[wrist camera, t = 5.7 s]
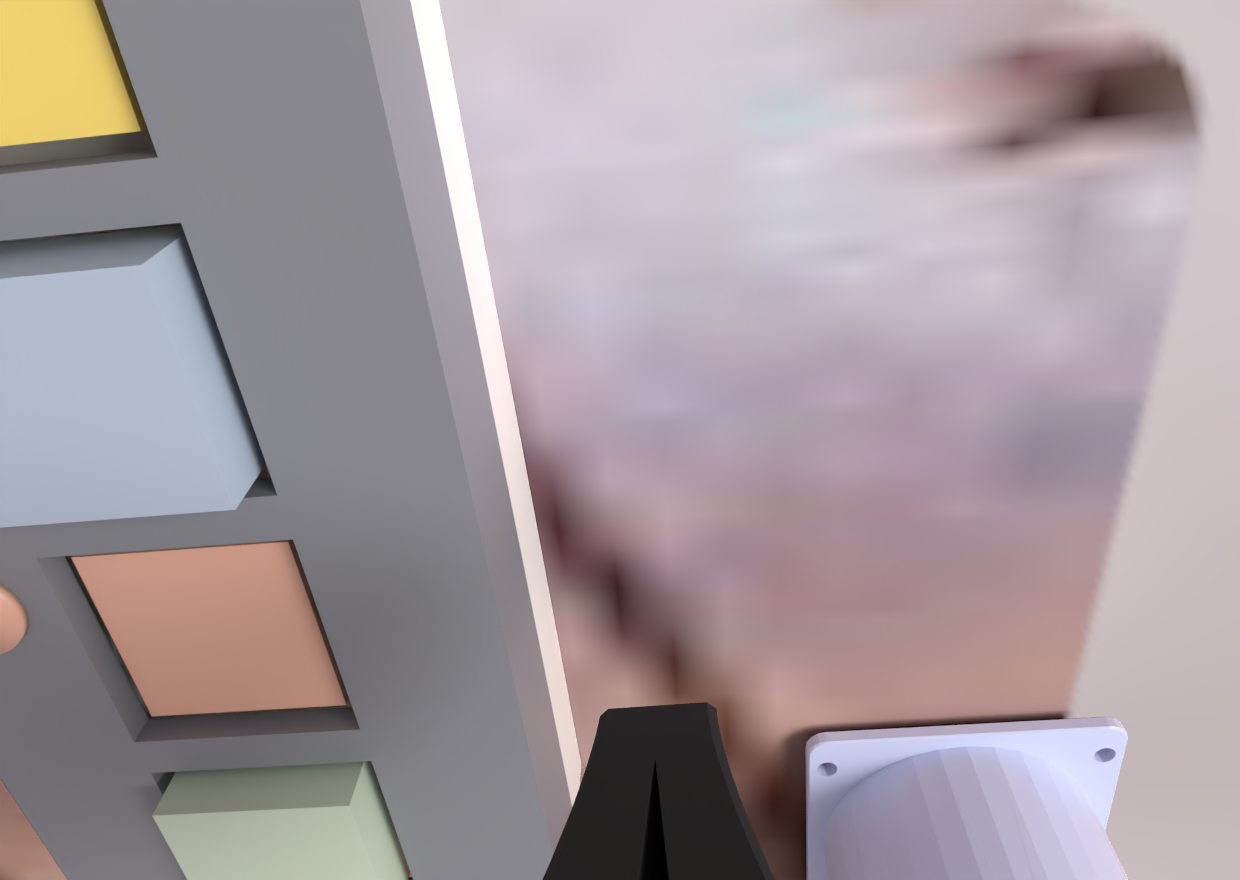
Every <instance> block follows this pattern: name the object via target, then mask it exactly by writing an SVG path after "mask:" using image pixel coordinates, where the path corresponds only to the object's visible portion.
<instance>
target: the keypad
mask: <svg viewBox="0 0 1240 880" xmlns="http://www.w3.org/2000/svg"><path fill="white" fill-rule="evenodd" d="M102 1H103V4H104V7H105V9H106V12H107V15H108V18H109V21H110V23H111V26H112V29H113V32H114V35H115V38H116V40H117V43H118V46H119V49H120V52H121V55H122V57H123V60H124V63H125V66H126V69H127V72H128V74H129V77H130V80H131V83H132V86H133V89H134V91H135V94H136V97H137V100H138V103H139V106H140V108H141V111H142V114H143V117H144V120H145V122H146V125H147V129H144V130H142V131H138V132H129V133H120V134H110V135H101V136H92V137H83V138H74V139H64V140H55V141H46V142H37V143H28V144H19V145H9V146H0V244H2V243H12V242H22V241H32V240H42V239H52V238H62V237H72V236H82V235H92V234H102V233H112V232H122V231H131V230H141V229H151V228H161V227H171V226H181V225H182V227H183V230H184V233H185V236H186V238H187V241H188V244H189V247H190V250H191V253H192V255H193V258H194V261H195V264H196V267H197V270H198V272H199V275H200V278H201V281H202V284H203V287H204V289H205V292H206V295H207V298H208V301H209V304H210V306H211V309H212V312H213V315H214V318H215V320H216V323H217V326H218V329H219V332H220V335H221V337H222V340H223V343H224V346H225V349H226V352H227V354H228V357H229V360H230V363H231V366H232V369H233V371H234V374H235V377H236V380H237V383H238V386H239V388H240V391H241V394H242V397H243V400H244V403H245V405H246V408H247V411H248V414H249V417H250V419H251V422H252V425H253V428H254V431H255V434H256V436H257V439H258V442H259V445H260V448H261V451H262V453H263V456H264V459H265V462H266V465H265V466H264V468H263V469H262V471H261V472H260V474H259V475H258V477H257V478H256V480H255V481H254V483H253V484H252V486H251V487H250V489H249V490H248V492H247V493H246V495H245V496H244V498H243V499H242V501H241V502H240V504H239V505H238V507H237V508H236V510H226V511H213V512H199V513H186V514H173V515H160V516H147V517H134V518H120V519H107V520H94V521H81V522H68V523H55V524H41V525H28V526H15V527H2V528H0V778H1V780H2V781H3V783H4V784H5V786H6V788H7V789H8V791H9V792H10V794H11V795H12V797H13V798H14V800H15V801H16V803H17V804H18V806H19V807H20V809H21V810H22V812H23V813H24V815H25V816H26V818H27V819H28V821H29V822H30V824H31V826H32V827H33V829H34V830H35V832H36V833H37V835H38V836H39V838H40V839H41V841H42V842H43V844H44V845H45V847H46V848H47V850H48V851H49V853H50V854H51V856H52V857H53V859H54V860H55V862H56V863H57V865H58V867H59V868H60V870H61V871H62V873H63V874H64V876H65V877H66V879H67V880H187V878H186V876H185V874H184V873H183V871H182V869H181V867H180V865H179V863H178V862H177V860H176V858H175V856H174V854H173V853H172V851H171V849H170V847H169V845H168V844H167V842H166V840H165V838H164V836H163V835H162V833H161V831H160V829H159V827H158V825H157V824H156V822H155V820H154V818H153V816H152V815H153V813H154V811H155V809H156V808H157V806H158V804H159V802H160V800H161V798H162V796H163V795H164V793H165V791H166V789H167V787H168V785H169V783H170V782H171V780H172V778H173V776H174V774H175V772H179V771H197V770H216V769H234V768H253V767H271V766H290V765H308V764H327V763H345V762H364V761H371V762H372V765H373V767H374V770H375V773H376V776H377V779H378V782H379V784H380V787H381V790H382V793H383V796H384V799H385V801H386V804H387V807H388V810H389V813H390V816H391V818H392V821H393V824H394V827H395V830H396V832H397V835H398V838H399V841H400V844H401V847H402V849H403V852H404V855H405V858H406V861H407V864H408V866H409V869H410V872H411V875H412V877H409V878H408V880H542V879H543V877H544V875H545V873H546V870H547V868H548V866H549V864H550V861H551V859H552V856H553V854H554V851H555V849H556V846H557V844H558V842H559V839H560V837H561V834H562V832H563V829H564V827H565V824H566V822H567V819H568V817H569V815H570V812H571V809H572V807H573V804H574V801H575V798H576V796H577V793H578V790H579V787H580V774H581V760H580V755H579V749H578V744H577V739H576V733H575V728H574V723H573V717H572V712H571V706H570V701H569V696H568V690H567V685H566V680H565V674H564V669H563V664H562V658H561V653H560V647H559V642H558V637H557V631H556V626H555V621H554V615H553V610H552V605H551V599H550V594H549V588H548V583H547V578H546V572H545V567H544V562H543V556H542V551H541V546H540V540H539V535H538V530H537V524H536V519H535V513H534V508H533V503H532V497H531V492H530V487H529V481H528V476H527V471H526V465H525V460H524V454H523V449H522V444H521V438H520V433H519V428H518V422H517V417H516V412H515V406H514V401H513V395H512V390H511V385H510V379H509V374H508V369H507V363H506V358H505V353H504V347H503V342H502V337H501V331H500V326H499V320H498V315H497V310H496V304H495V299H494V294H493V288H492V283H491V278H490V272H489V267H488V261H487V256H486V251H485V245H484V240H483V235H482V229H481V224H480V219H479V213H478V208H477V202H476V197H475V192H474V186H473V181H472V176H471V170H470V165H469V160H468V154H467V149H466V144H465V138H464V133H463V127H462V122H461V117H460V111H459V106H458V101H457V95H456V90H455V85H454V79H453V74H452V68H451V63H450V58H449V52H448V47H447V42H446V36H445V31H444V26H443V20H442V15H441V9H440V4H439V0H102ZM279 540H293V541H294V544H295V547H296V550H297V552H298V555H299V558H300V561H301V564H302V567H303V569H304V572H305V575H306V578H307V581H308V584H309V586H310V589H311V592H312V595H313V598H314V601H315V603H316V606H317V609H318V612H319V615H320V617H321V620H322V623H323V626H324V629H325V632H326V634H327V637H328V640H329V643H330V646H331V649H332V651H333V654H334V657H335V660H336V663H337V666H338V668H339V671H340V674H341V677H342V680H343V683H344V685H345V688H346V691H347V694H348V697H349V700H348V702H347V705H339V706H322V707H305V708H288V709H271V710H254V711H237V712H220V713H203V714H186V715H169V716H151V714H150V712H149V710H148V708H147V706H146V704H145V702H144V700H143V698H142V696H141V694H140V692H139V690H138V688H137V686H136V684H135V682H134V680H133V678H132V676H131V674H130V672H129V670H128V668H127V667H126V665H125V663H124V661H123V659H122V657H121V655H120V653H119V651H118V649H117V647H116V645H115V643H114V641H113V639H112V637H111V635H110V633H109V631H108V629H107V627H106V625H105V623H104V621H103V619H102V618H101V616H100V614H99V612H98V610H97V608H96V606H95V604H94V602H93V600H92V598H91V596H90V594H89V592H88V590H87V588H86V586H85V584H84V582H83V580H82V578H81V576H80V574H79V572H78V570H77V569H76V567H75V565H74V563H73V561H72V559H71V557H72V556H74V555H87V554H101V553H115V552H128V551H142V550H156V549H169V548H183V547H197V546H211V545H224V544H238V543H252V542H265V541H279Z"/></svg>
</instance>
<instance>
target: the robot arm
mask: <svg viewBox="0 0 1240 880" xmlns="http://www.w3.org/2000/svg"><path fill="white" fill-rule="evenodd" d="M1127 739H1128V738H1127V732H1126V731H1125V729H1124V727H1123V726H1122V724H1121V723H1120V721H1119V720H1117V719H1115V718H1111V717H1094V718H1075V719H1057V720H1038V721H1020V722H1002V723H983V724H965V725H947V726H928V727H910V728H892V729H873V730H855V731H836V732H823V733H818V734H816V735H814V736H812V737H811V738H810V739H809V740H808V741H807V744H806V868H807V880H1128V878H1127V876H1126V874H1125V872H1124V870H1123V868H1122V866H1121V864H1120V862H1119V860H1118V857H1117V856H1116V853H1115V851H1114V849H1113V847H1112V845H1111V843H1110V841H1109V839H1108V837H1107V835H1106V833H1105V829H1106V825H1107V821H1108V817H1109V813H1110V809H1111V805H1112V800H1113V796H1114V792H1115V788H1116V784H1117V780H1118V776H1119V772H1120V768H1121V764H1122V760H1123V756H1124V752H1125V747H1126V744H1127ZM823 763H828V764H823ZM542 880H775V879H774V877H773V875H772V873H771V871H770V869H769V866H768V864H767V862H766V859H765V857H764V855H763V852H762V850H761V848H760V846H759V843H758V841H757V839H756V836H755V834H754V832H753V829H752V827H751V825H750V822H749V820H748V817H747V815H746V812H745V810H744V807H743V805H742V802H741V799H740V796H739V794H738V791H737V788H736V785H735V782H734V779H733V776H732V773H731V771H730V767H729V764H728V761H727V757H726V754H725V750H724V747H723V743H722V739H721V734H720V730H719V725H718V719H717V710H716V708H714V707H713V706H711V705H710V704H708V703H707V702H705V703H690V704H675V705H660V706H645V707H631V708H616V709H608V710H607V711H605V712H604V713H603V714H602V715H601V716H600V720H599V724H598V728H597V733H596V737H595V740H594V744H593V747H592V751H591V754H590V757H589V761H588V764H587V767H586V770H585V773H584V776H583V779H582V782H581V785H580V787H579V790H578V793H577V796H576V798H575V801H574V804H573V807H572V809H571V812H570V815H569V817H568V819H567V822H566V824H565V827H564V829H563V832H562V834H561V837H560V839H559V842H558V844H557V846H556V849H555V851H554V854H553V856H552V859H551V861H550V864H549V866H548V868H547V870H546V873H545V875H544V877H543V879H542Z"/></svg>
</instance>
